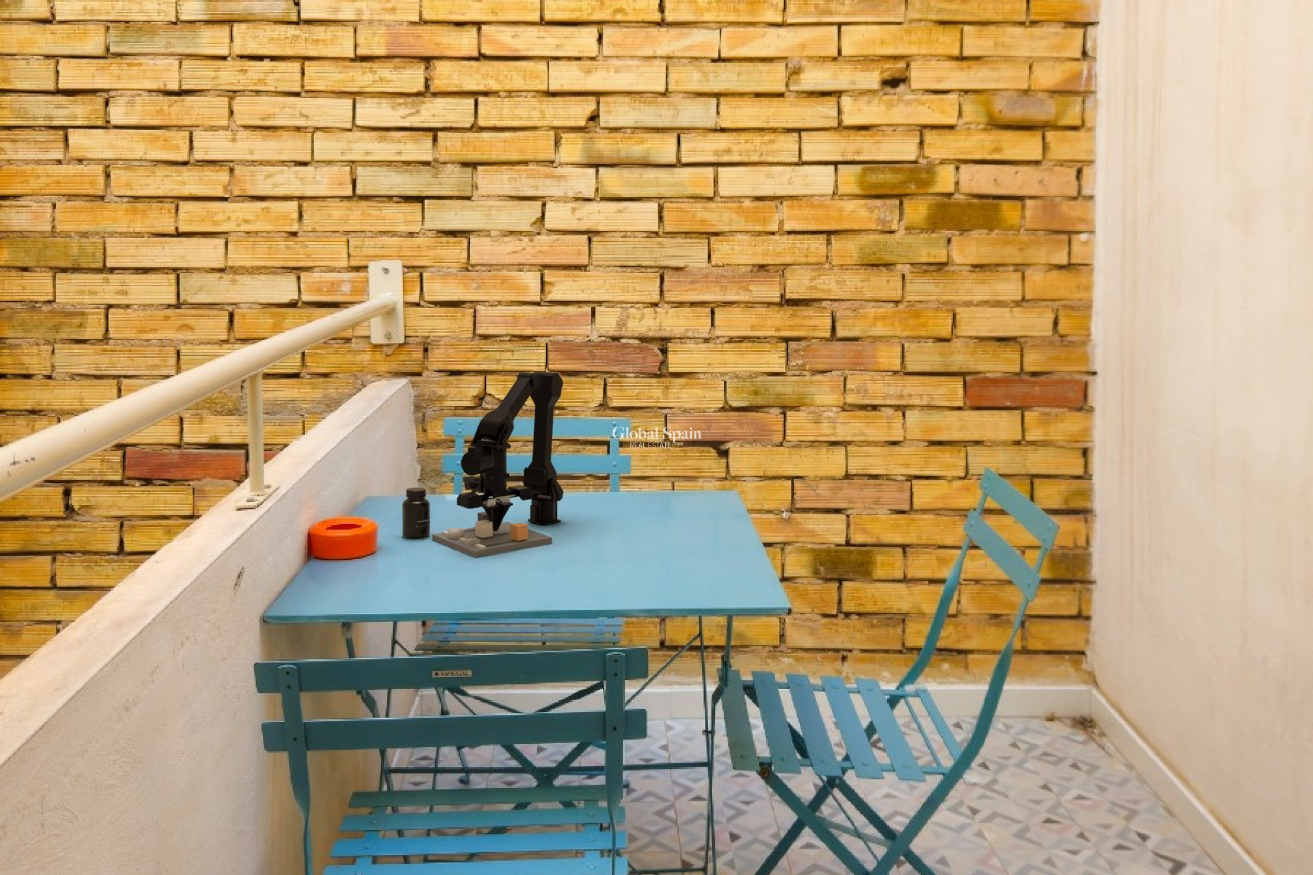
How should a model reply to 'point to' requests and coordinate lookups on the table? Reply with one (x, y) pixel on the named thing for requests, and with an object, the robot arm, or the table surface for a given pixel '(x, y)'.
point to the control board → (488, 540)
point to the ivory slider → (483, 528)
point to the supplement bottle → (416, 514)
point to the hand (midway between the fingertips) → (495, 530)
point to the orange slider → (519, 531)
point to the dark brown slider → (482, 516)
